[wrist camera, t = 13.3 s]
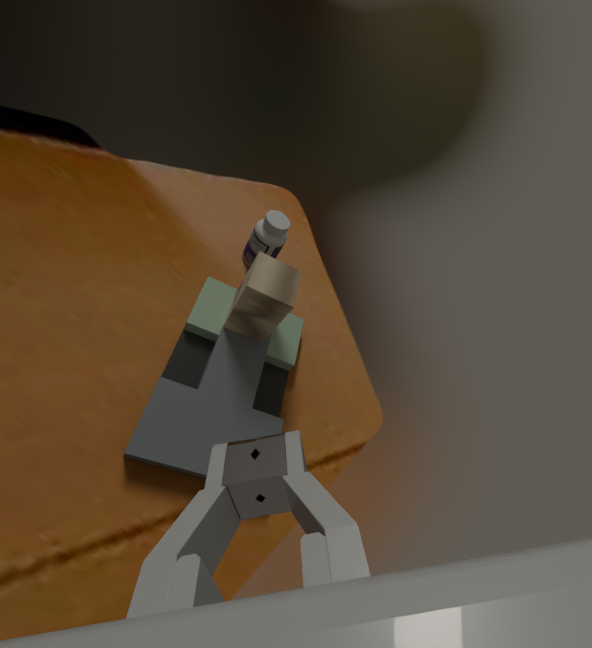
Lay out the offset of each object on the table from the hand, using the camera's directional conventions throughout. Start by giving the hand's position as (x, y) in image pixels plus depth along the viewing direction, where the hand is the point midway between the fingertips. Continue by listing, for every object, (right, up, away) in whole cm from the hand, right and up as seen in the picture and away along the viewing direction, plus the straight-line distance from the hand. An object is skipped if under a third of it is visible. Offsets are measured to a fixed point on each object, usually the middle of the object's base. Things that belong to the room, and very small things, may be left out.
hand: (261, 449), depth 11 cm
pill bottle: (-6, +16, +44) cm, 48 cm away
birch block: (-6, +5, +35) cm, 35 cm away
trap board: (-8, -3, +32) cm, 33 cm away
